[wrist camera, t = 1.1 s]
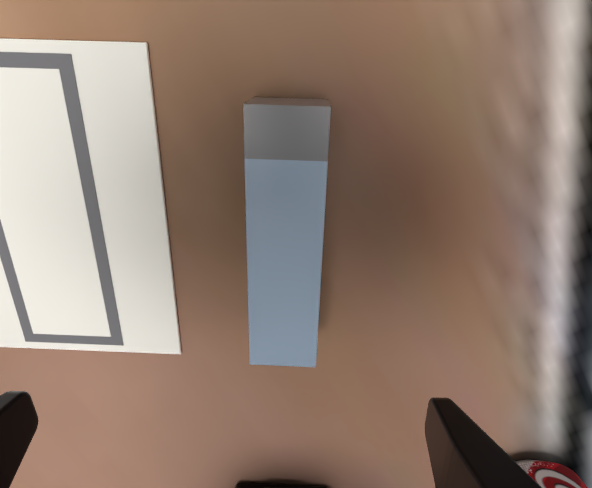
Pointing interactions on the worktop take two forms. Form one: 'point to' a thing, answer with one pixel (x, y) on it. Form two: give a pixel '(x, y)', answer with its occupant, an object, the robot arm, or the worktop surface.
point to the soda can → (551, 474)
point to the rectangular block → (285, 225)
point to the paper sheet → (82, 200)
